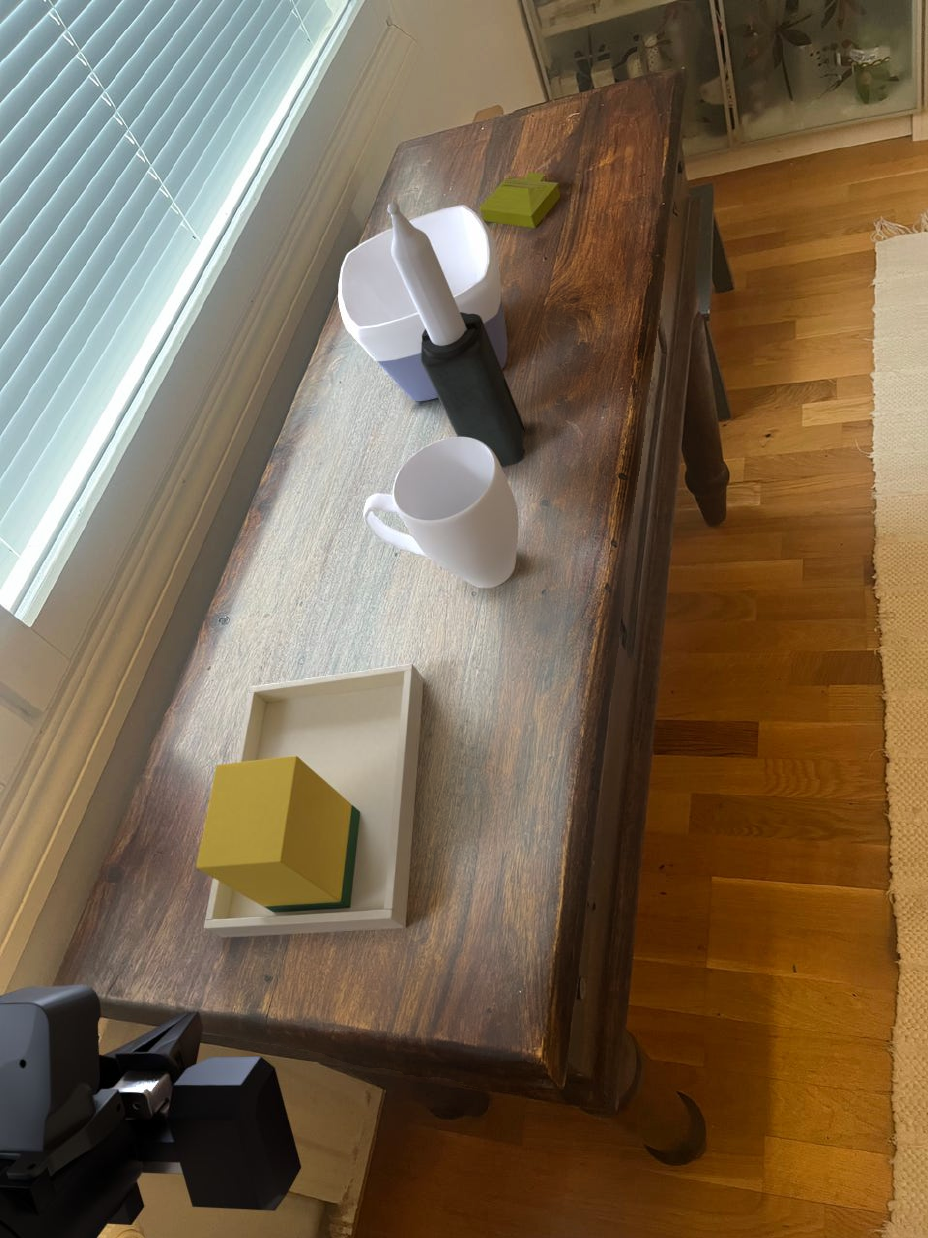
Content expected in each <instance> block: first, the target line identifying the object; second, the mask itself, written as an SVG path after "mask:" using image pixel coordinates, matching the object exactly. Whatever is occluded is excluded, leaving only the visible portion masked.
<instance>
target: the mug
mask: <svg viewBox="0 0 928 1238" xmlns="http://www.w3.org/2000/svg"><path fill="white" fill-rule="evenodd" d="M392 486H393V487H392V494H389V493H388V494H387V493H375V494H372V495H370V496H369V497H368V499H367V500H366V501H365V505H364V507H363V521H364V523H365V526H366V527H367V529H368V530H369V532H371V533H372V535H373V536H375V537H376V538H377V539H378V540H380V541H382V542H384V543H385V544H388V545H389V546H392V547H394V548H397V549H400V550H402V551H405V552H408V553H411V554H414V555H417V556H420V557H424V558H426V559H430V560H431V561H432V562H433V563H435V565H437V566H439V567H440V568H442V569H443V570H445V571H446V572H449V573H450V574H451V575H454V576H456V577H458V578H459V579H461V580H462V581H464V582H466V583H468V584H470V585H472V586H474V587H476V588H479V589H492V588H495V587H498V586H500V585H502V584H503V583H505V582H506V581H507V580H509V578H510V577H511V576H512V575H513V573H514V571H515V568H516V564H517V552H518V551H517V550H518V541H519V532H520V531H519V530H520V529H519V528H520V522H519V520H520V518H519V510H518V505H517V502H516V498H515V496H514V493H513V489H512V488H511V485H510V483H509V481H508V479H507V476H506V474H505V472H504V470H503V468H502V467H501V465H500V463H499V461H498V459H497V457H496V455H495V454H494V452H493V451H492V450H491V449H490V448H489V447H488V446H487V445H486V444H484V443H483V442H481V441H479V440H476V439H473V438H468V437H457V436H451V437H447V438H445V437H444V438H441V439H439V440H436V441H433V442H430V443H429V444H427V445H425V446H423V447H422V448H420V449H419V450H417V451H415V453H413V454H412V455H411V456H410V457H409V458H408V459H407V460H406V461H405V462H404V463H403V465H402V466H401V467H400V469H399V471H398V472H397V474H396V476H395V479H394V482H393V485H392ZM374 511H384V512H387V513H391V514H393V515H396V516H399V517H400V519H401V521H402V522H403V523H404V524H403V525H405V527H406V529H407V530H408V532H409V533H410V535H409V534H407V533H405V532H401V531H399V530H396V529H394V528H392V527H391V526H388V525H387V524H385V523H384V522H382V521H381V520H380V519H379V518H378V517H377V516H376V514H375V512H374Z"/></svg>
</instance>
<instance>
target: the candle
mask: <svg viewBox="0 0 928 1238" xmlns="http://www.w3.org/2000/svg"><path fill="white" fill-rule="evenodd" d="M387 212H388V213H389V214H390V216H391V225H392V227H393V234H394V238H393V243H392V248H391V253H392V257H393V259H394V261H395V263H396V265H397V267H398V270H399V272H400V274H401V276H402V278H403V280H404V283H405V285H406V287H407V289H408V291H409V293H410V295H411V298H412V300H413V302H414V304H415V306H416V308H417V311H418V313H419V315H420V317H421V319H422V321H423V324H424V326H425V328H426V329H425V330H424V332H423V334H422V342H421V344H422V347H421V363H422V365H423V367H424V369H425V371H426V373H427V375H428V377H429V379H430V381H431V383H432V385H433V388H434V390H435V392H436V394H437V396H438V400H439V402H440V404H441V406H442V408H443V410H444V412H445V414H446V416H447V418H448V421H449V423H450V424H451V427H452V430H453V431H454V433H455V435H456V437H468V438H473V439H476V440H479V441H481V442H483V443H484V444H486V445H487V446H488V447H489V448H490V449H491V450H492V451H493V452H494V454H495V455H496V457H497V459H498V461H499V463H500V465H501V467H507V466H512V465H516V464H517V463H520V462H521V461H522V460H523V459H524V457H525V456H526V453H527V449H525V445H524V432H525V431H526V428H525V427H526V426H525V425H524V422H523V420H522V417H521V415H520V411H519V409H518V407H517V404H516V402H515V400H514V399H515V398H514V396H513V394H512V391H511V389H510V387H509V386H510V385H508V381H507V379H506V376H505V375H504V372H503V368H502V369H501V366H500V364H499V361H498V359H497V356H496V354H495V351H494V349H493V346H492V344H491V341H490V339H489V336H488V333H487V331H486V328H485V326H484V323H483V321H482V318H481V317H480V316H479V315H477V314H467V313H463V312H460V311H459V309H458V307H457V304H456V302H455V300H454V297H453V295H452V292H451V290H450V288H449V285H448V283H447V280H446V278H445V276H444V273H443V271H442V268H441V266H440V264H439V261H438V259H437V256H436V254H435V252H434V249H433V247H432V244H431V242H430V240H429V238H428V236H427V235H426V234H425V233H424V232H422V231H421V230H419V229H417V228H415V227H413V225H412V224H411V223H410V222H409V219H408V218H407V217H406V216H405V215H404V213H402V212H401V210H400V205H399V203H397V202H395V201H391V202H390V203H388V206H387Z"/></svg>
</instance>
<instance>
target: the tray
mask: <svg viewBox="0 0 928 1238" xmlns="http://www.w3.org/2000/svg"><path fill="white" fill-rule="evenodd" d="M424 681H425V678H424V677H423V676H422V675H421V673H420V672H419V670H418V669H417V668H416V667H415V665H414V664H413V663H407V664H401V665H391V666H387V667H386V666H385V667H378V668H372V669H365V670H358V671H351V672H344V673H336V674H329V675H321V676H316V677H315V676H314V677H307V678H302V679H301V678H300V679H295V680H294V679H293V680H287V681H281V682H274V683H273V682H272V683H266V684H259V685H251V686H249V687H248V692H247V698H246V703H245V707H244V713H243V717H242V718H243V719H242V723H241V727H240V728H241V729H240V734H239V740H238V745H237V750H236V755H235V760H234V763H238V762H247V761H255V760H264V759H273V758H281V757H290V756H298V757H299V758H300V759H301V760H302V761H303V762H304V763H305V764H307V765H308V766H309V767H310V768H311V769H312V770H313V771H315V772H316V773H317V774H318V775H319V776H320V777H321V778H322V779H324V780H325V781H326V782H327V783H328V784H329V785H330V786H331V787H333V788H334V789H335V790H336V791H337V792H338V793H339V794H341V795H342V796H343V797H344V798H345V799H346V800H347V801H348V802H350V803H351V805H353V806H354V807H355V808H356V809H357V810H359V811H360V820H359V829H358V838H357V848H356V857H355V867H354V876H353V885H352V895H351V904H350V908H343V909H326V910H310V911H293V912H276V913H274V912H272V911H270V910H268V909H267V908H265V907H263V906H261V905H260V904H258V903H256V902H254V901H253V900H251V899H249V898H247V897H246V896H244V895H242V894H240V893H239V892H237V891H235V890H233V889H232V888H230V887H228V886H227V885H225V884H223V883H221V882H220V881H218V880H216V879H214V878H213V877H212V881H211V887H210V892H209V897H208V903H207V906H206V907H207V908H206V913H205V920H204V924H203V929H204V930H206V931H208V932H210V933H212V934H214V935H216V936H217V937H220V938H223V939H224V938H243V937H261V936H263V937H264V936H281V935H300V934H302V935H303V934H317V933H318V934H319V933H320V934H321V933H337V932H338V933H339V932H340V933H341V932H361V931H378V930H379V931H380V930H394V929H395V930H397V929H398V930H399V929H406V927H407V913H408V912H407V911H408V901H409V900H408V898H409V887H410V885H409V884H410V874H411V873H410V872H411V858H412V856H411V855H412V845H413V833H414V832H413V831H414V818H415V803H416V793H417V792H416V789H417V779H418V778H417V776H418V763H419V751H420V748H419V747H420V738H421V734H420V733H421V722H422V711H423V710H422V709H423V697H424V696H423V695H424V693H423V692H424V683H425V682H424Z"/></svg>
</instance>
